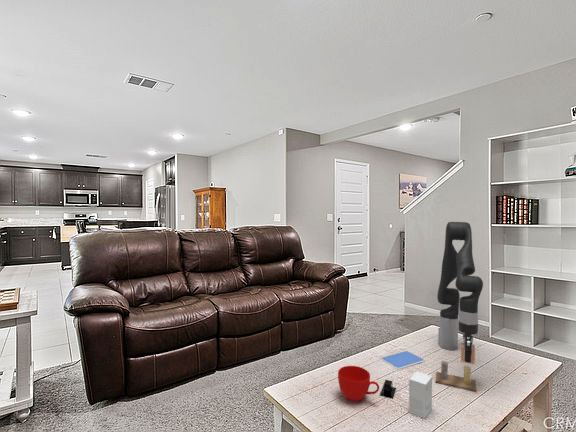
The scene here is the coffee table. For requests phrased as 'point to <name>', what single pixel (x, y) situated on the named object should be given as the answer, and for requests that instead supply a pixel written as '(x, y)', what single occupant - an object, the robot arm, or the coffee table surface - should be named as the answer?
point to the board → (453, 379)
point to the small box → (420, 394)
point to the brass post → (467, 375)
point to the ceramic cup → (355, 382)
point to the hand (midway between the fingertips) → (467, 359)
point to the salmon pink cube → (464, 354)
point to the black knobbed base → (388, 389)
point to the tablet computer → (402, 360)
